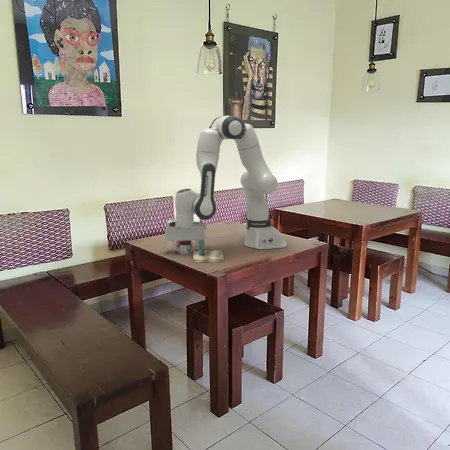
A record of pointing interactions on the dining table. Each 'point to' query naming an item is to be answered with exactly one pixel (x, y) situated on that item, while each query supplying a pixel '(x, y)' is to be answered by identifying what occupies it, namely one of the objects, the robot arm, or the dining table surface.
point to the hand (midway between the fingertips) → (185, 248)
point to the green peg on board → (207, 254)
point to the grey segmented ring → (185, 247)
